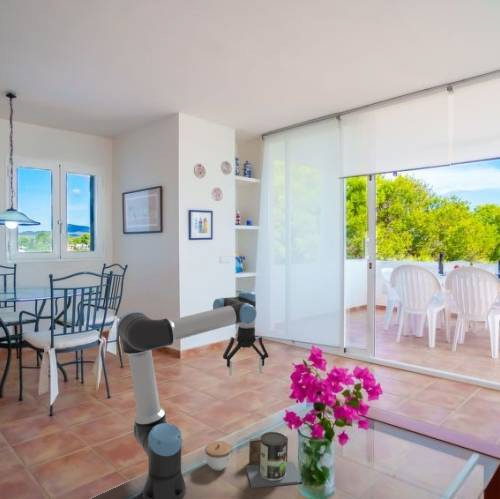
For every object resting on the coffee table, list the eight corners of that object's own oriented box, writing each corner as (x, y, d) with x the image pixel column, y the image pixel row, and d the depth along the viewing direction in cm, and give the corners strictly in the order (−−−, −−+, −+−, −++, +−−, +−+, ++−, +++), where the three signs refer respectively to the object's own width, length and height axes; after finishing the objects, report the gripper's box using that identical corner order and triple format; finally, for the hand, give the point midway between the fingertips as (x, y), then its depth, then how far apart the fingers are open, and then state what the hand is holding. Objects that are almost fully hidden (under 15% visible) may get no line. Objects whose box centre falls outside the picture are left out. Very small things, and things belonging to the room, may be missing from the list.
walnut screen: (249, 464, 164) (250, 440, 164) (249, 462, 166) (249, 438, 165) (287, 461, 167) (287, 438, 167) (286, 459, 169) (286, 436, 168)
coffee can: (290, 471, 159) (291, 436, 159) (277, 484, 151) (278, 448, 150) (268, 462, 165) (269, 429, 164) (254, 474, 156) (255, 439, 156)
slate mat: (251, 487, 150) (251, 485, 150) (245, 467, 162) (245, 465, 162) (302, 482, 153) (302, 480, 153) (292, 463, 166) (292, 461, 166)
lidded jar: (219, 477, 155) (219, 454, 155) (199, 467, 162) (199, 444, 161) (236, 465, 164) (237, 442, 163) (217, 455, 170) (217, 434, 170)
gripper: (219, 329, 170) (218, 377, 171) (276, 327, 175) (274, 375, 176) (217, 324, 178) (216, 371, 179) (272, 323, 182) (270, 369, 183)
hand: (245, 373), depth 177 cm, fingers open, 13 cm apart
